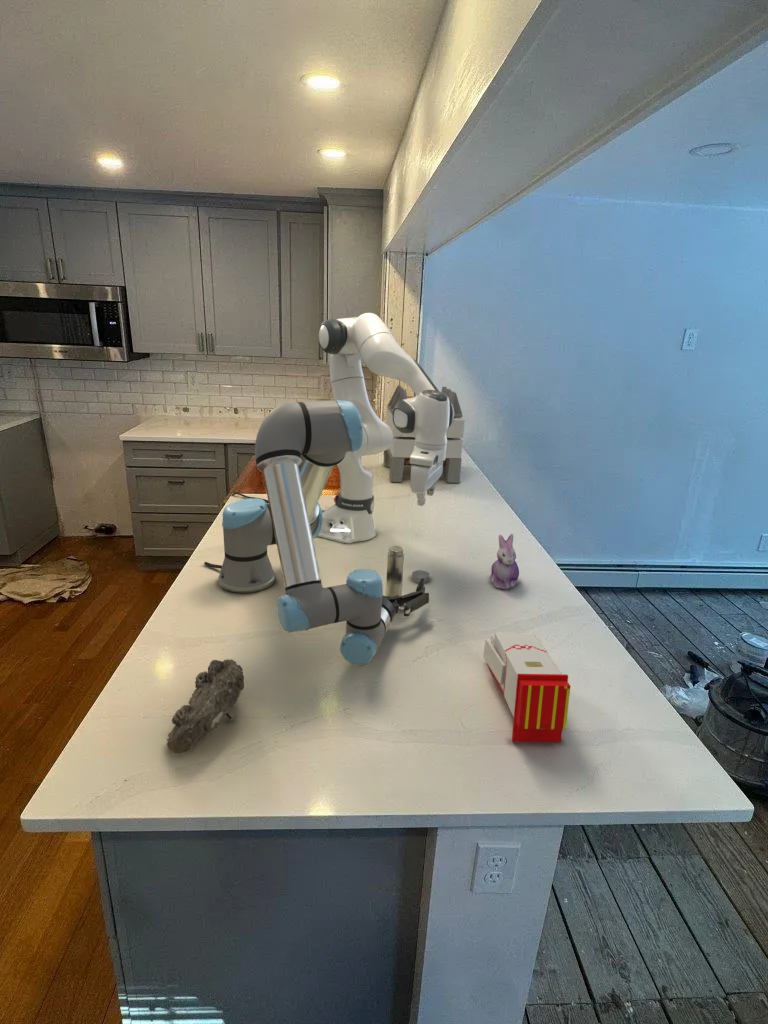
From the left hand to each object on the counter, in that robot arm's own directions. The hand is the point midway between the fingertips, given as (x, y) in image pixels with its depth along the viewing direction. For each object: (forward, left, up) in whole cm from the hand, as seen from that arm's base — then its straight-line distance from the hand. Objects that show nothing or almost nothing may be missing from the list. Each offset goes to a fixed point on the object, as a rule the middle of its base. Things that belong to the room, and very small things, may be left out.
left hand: (397, 578), depth 152 cm
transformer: (-21, +127, -7) cm, 129 cm away
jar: (0, -3, -7) cm, 7 cm away
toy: (+34, -31, -7) cm, 46 cm away
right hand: (+3, +15, +18) cm, 24 cm away
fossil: (-22, -56, -7) cm, 61 cm away
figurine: (+28, +21, -7) cm, 35 cm away
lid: (+4, +15, -5) cm, 16 cm away
